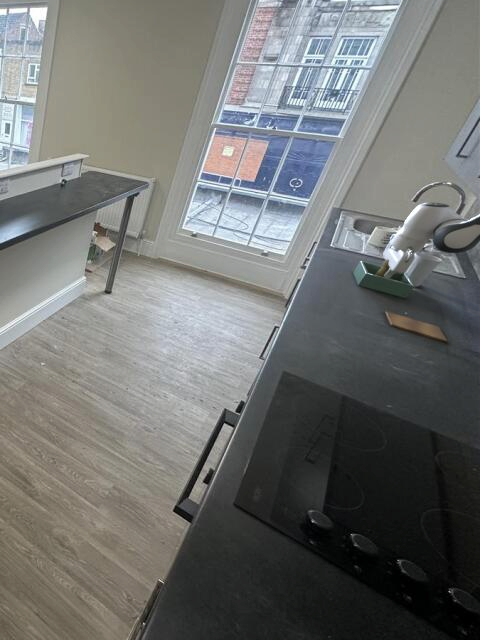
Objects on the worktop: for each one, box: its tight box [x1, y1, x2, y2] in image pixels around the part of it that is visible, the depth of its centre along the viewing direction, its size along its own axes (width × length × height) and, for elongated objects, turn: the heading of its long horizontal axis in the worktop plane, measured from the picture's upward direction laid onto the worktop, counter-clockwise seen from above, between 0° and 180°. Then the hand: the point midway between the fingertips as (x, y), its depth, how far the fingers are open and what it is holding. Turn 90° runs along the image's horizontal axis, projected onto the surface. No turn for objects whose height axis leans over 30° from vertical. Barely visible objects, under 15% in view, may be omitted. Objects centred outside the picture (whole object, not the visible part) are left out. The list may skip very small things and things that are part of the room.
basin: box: [352, 260, 416, 299], centre depth 161 cm, size 15×15×6 cm
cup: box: [406, 252, 443, 287], centre depth 164 cm, size 8×8×12 cm
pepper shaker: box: [375, 259, 394, 279], centre depth 160 cm, size 6×6×11 cm
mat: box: [384, 311, 448, 343], centre depth 136 cm, size 14×10×1 cm
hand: (384, 274), depth 160 cm, fingers closed on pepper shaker, 4 cm apart
